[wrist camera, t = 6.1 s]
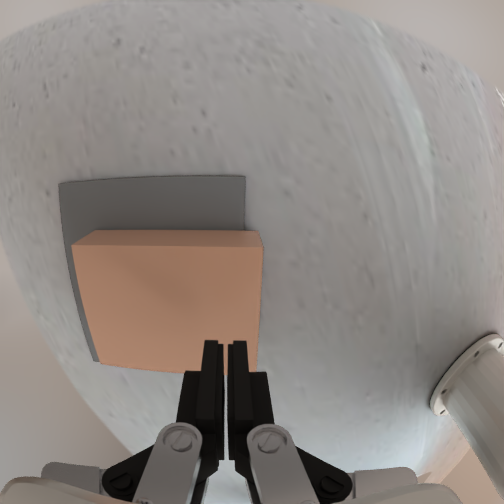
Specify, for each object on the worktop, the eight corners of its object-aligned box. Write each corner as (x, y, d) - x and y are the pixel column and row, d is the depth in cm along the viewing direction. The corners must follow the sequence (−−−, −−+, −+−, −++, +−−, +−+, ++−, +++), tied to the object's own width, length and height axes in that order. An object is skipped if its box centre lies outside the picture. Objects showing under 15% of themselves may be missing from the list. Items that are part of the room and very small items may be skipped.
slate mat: (245, 176, 15) (245, 177, 15) (239, 371, 20) (239, 373, 20) (61, 183, 14) (58, 184, 14) (94, 358, 19) (93, 361, 19)
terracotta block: (263, 247, 13) (71, 245, 12) (255, 374, 16) (100, 363, 15) (257, 229, 16) (96, 229, 15) (252, 343, 19) (115, 336, 18)
